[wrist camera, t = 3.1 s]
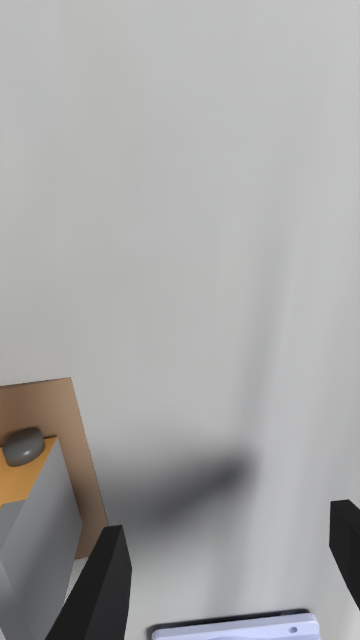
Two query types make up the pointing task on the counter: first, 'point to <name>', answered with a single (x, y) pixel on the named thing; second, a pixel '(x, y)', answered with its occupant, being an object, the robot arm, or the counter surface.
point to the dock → (65, 423)
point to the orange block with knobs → (35, 534)
